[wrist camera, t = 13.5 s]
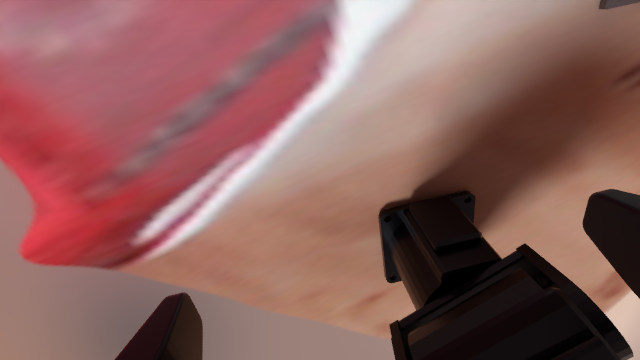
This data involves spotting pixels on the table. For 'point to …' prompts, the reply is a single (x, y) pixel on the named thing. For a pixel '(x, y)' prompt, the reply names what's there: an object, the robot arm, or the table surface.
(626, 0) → the collar plate
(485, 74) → the table surface
